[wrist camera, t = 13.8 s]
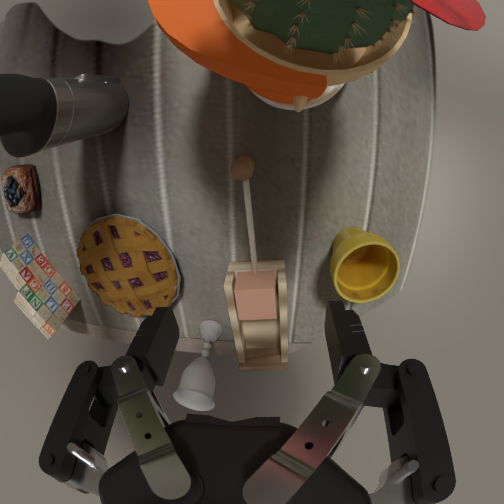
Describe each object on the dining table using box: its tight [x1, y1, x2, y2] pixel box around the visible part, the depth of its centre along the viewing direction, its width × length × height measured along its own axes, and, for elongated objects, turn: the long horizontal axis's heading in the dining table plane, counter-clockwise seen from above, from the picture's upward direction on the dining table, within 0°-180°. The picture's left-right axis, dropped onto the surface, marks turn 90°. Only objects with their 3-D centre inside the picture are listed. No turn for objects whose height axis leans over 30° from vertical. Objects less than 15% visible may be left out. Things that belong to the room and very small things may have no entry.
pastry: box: [3, 164, 41, 213], centre depth 39 cm, size 11×12×6 cm
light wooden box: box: [224, 259, 288, 371], centre depth 48 cm, size 20×9×8 cm, turn 5°
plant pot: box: [330, 227, 400, 303], centre depth 40 cm, size 10×10×10 cm
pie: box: [77, 214, 181, 318], centre depth 46 cm, size 22×22×5 cm
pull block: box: [231, 154, 277, 320], centre depth 39 cm, size 24×6×6 cm, turn 5°
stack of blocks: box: [0, 234, 80, 339], centre depth 47 cm, size 21×6×12 cm, turn 34°
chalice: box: [173, 320, 223, 411], centre depth 47 cm, size 7×7×18 cm
